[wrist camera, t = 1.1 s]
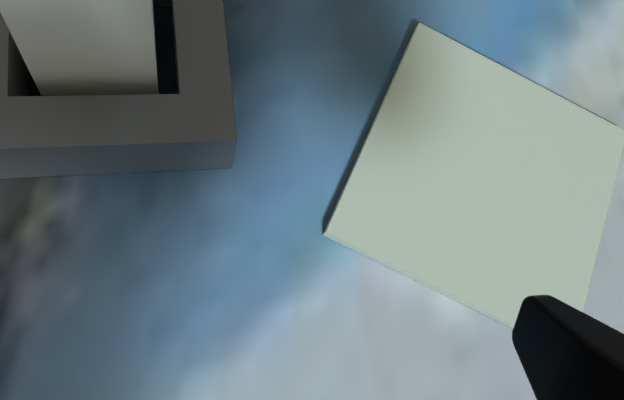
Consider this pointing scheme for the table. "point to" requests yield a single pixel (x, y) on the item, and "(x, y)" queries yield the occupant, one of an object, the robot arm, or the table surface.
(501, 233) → the rubber mat
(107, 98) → the socket collar
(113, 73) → the plug
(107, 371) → the table surface
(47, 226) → the table surface
